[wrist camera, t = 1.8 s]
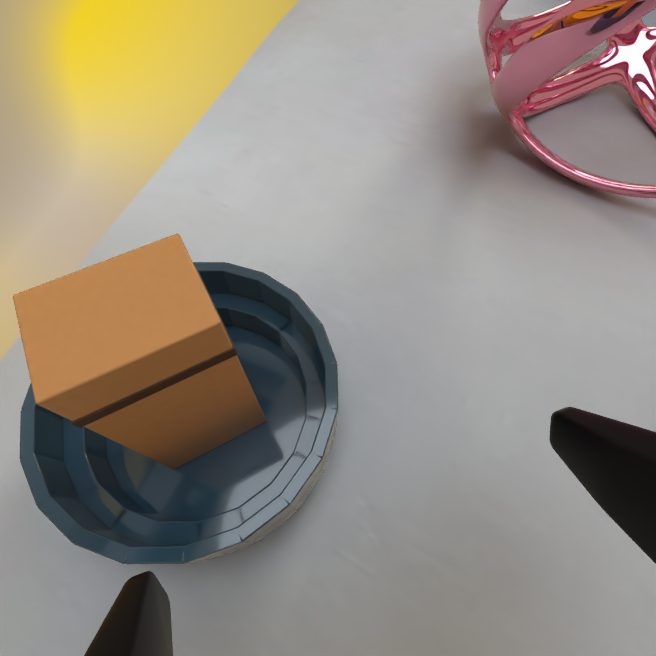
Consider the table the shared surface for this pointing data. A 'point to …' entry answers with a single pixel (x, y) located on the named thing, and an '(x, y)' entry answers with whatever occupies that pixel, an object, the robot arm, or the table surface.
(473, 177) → the table surface
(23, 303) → the case
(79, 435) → the bowl
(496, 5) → the pink openwork ball
